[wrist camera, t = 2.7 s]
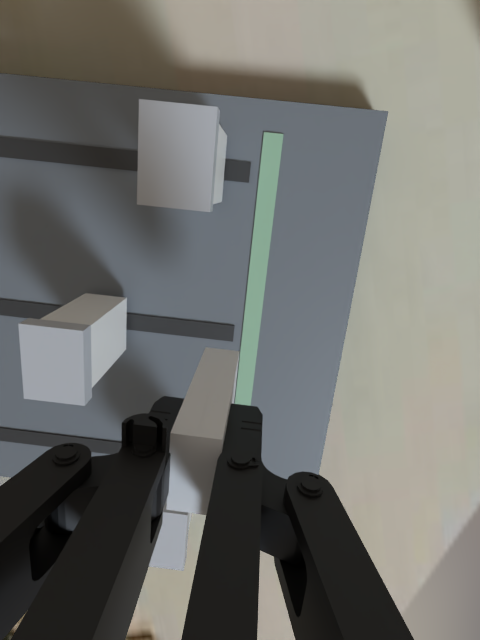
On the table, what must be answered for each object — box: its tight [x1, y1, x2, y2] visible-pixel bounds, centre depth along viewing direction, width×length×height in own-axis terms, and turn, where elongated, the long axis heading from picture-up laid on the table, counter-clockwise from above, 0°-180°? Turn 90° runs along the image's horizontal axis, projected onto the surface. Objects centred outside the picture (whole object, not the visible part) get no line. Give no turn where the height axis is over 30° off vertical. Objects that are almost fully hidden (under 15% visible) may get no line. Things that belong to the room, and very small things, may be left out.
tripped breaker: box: [18, 293, 127, 406], centre depth 21 cm, size 3×4×6 cm
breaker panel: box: [0, 73, 388, 479], centre depth 25 cm, size 28×25×2 cm
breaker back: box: [149, 499, 192, 571], centre depth 23 cm, size 3×4×6 cm
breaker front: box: [137, 99, 227, 212], centre depth 18 cm, size 3×4×6 cm
